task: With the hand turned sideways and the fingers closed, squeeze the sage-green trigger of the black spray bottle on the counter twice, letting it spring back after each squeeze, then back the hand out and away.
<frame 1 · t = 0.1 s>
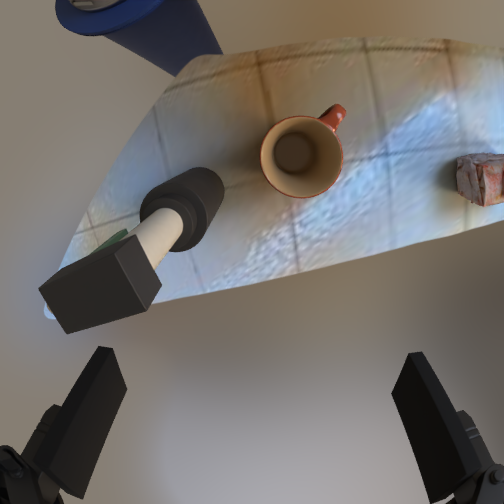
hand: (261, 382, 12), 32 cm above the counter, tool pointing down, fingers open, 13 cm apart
trigger: (111, 257, 23), point 20 cm above the counter, slide at -0.1 cm
mug: (299, 143, 38), on the counter
spray bottle: (199, 191, 41), on the counter
food item: (478, 171, 38), on the counter
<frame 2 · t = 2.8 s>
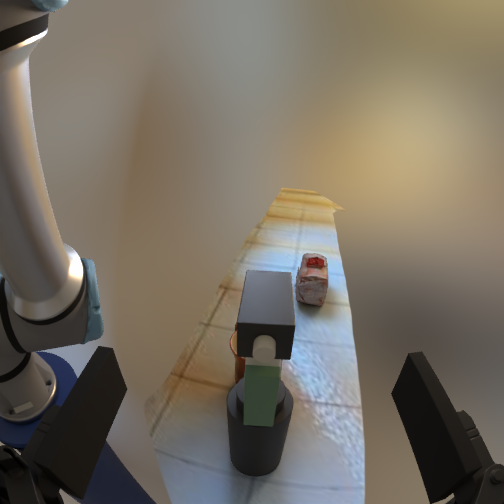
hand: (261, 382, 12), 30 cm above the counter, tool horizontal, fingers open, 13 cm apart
trigger: (260, 398, 22), point 20 cm above the counter, slide at -0.1 cm
mug: (252, 380, 48), on the counter
spray bottle: (255, 455, 34), on the counter
food item: (309, 293, 74), on the counter
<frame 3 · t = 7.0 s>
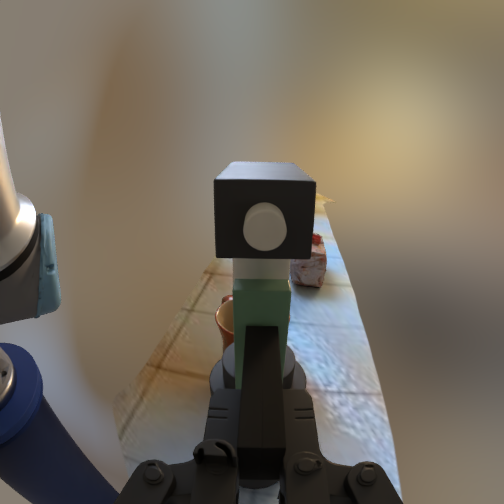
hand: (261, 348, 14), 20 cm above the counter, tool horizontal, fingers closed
trigger: (260, 343, 15), point 20 cm above the counter, slide at 1.0 cm, touching gripper
mug: (246, 369, 40), on the counter
spray bottle: (254, 462, 25), on the counter
food item: (306, 276, 67), on the counter
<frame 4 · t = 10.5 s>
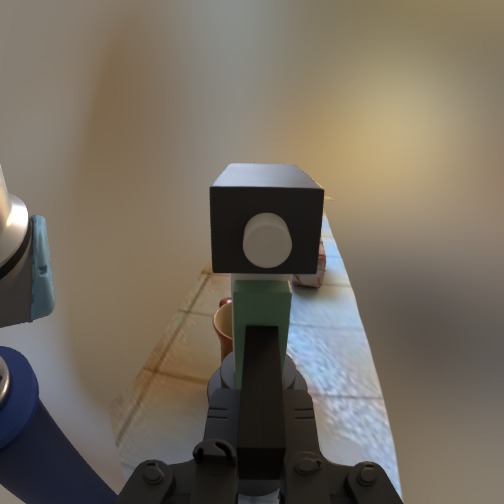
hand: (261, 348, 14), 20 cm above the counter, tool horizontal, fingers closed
trigger: (260, 344, 15), point 20 cm above the counter, slide at 2.0 cm, touching gripper, spray bottle
mug: (244, 372, 39), on the counter
spray bottle: (254, 468, 25), on the counter
food item: (304, 276, 66), on the counter
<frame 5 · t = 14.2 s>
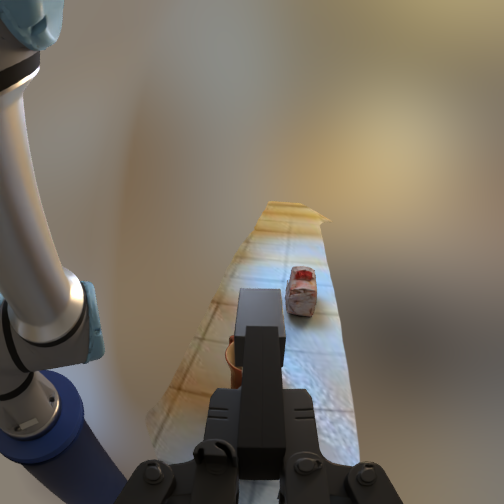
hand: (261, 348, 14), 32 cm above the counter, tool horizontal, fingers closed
mug: (248, 390, 50), on the counter
spray bottle: (254, 461, 35), on the counter
food item: (299, 305, 77), on the counter
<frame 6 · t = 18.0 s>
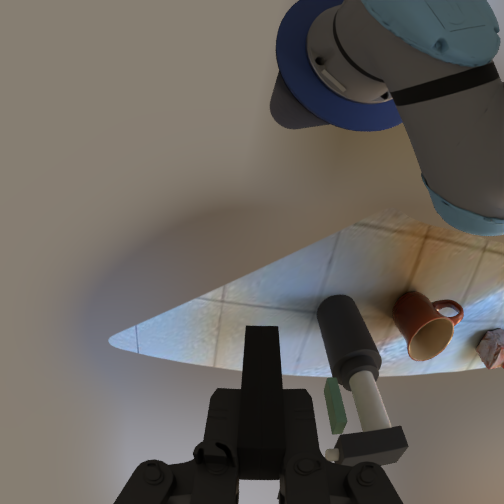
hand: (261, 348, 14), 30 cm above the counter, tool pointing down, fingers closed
trigger: (334, 405, 30), point 20 cm above the counter, slide at -0.1 cm
mug: (414, 301, 48), on the counter
spray bottle: (336, 312, 49), on the counter
food item: (493, 337, 52), on the counter
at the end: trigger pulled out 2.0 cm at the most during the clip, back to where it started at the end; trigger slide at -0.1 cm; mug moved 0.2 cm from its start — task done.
